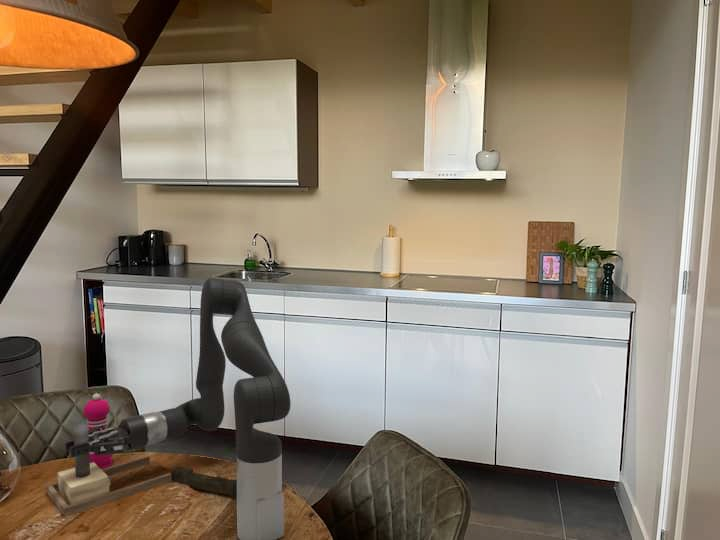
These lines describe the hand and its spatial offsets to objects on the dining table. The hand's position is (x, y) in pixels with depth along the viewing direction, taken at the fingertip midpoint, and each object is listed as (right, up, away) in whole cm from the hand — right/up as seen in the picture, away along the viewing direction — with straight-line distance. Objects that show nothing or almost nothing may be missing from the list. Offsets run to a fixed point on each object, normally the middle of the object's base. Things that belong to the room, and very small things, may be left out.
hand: (68, 449), depth 129 cm
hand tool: (+28, -13, +9) cm, 32 cm away
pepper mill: (-2, -11, +19) cm, 22 cm away
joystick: (+2, -12, +3) cm, 12 cm away
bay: (+6, -12, +7) cm, 16 cm away
